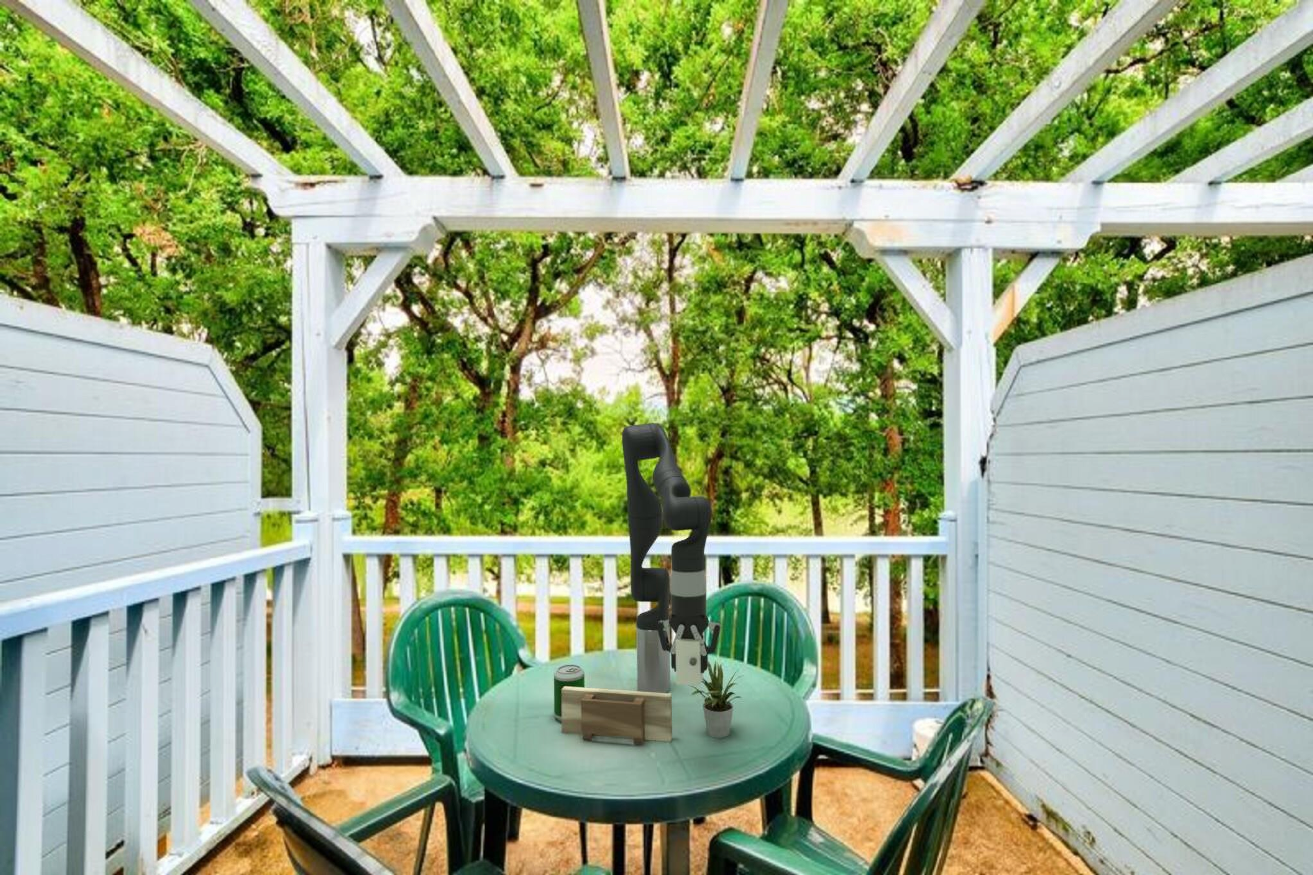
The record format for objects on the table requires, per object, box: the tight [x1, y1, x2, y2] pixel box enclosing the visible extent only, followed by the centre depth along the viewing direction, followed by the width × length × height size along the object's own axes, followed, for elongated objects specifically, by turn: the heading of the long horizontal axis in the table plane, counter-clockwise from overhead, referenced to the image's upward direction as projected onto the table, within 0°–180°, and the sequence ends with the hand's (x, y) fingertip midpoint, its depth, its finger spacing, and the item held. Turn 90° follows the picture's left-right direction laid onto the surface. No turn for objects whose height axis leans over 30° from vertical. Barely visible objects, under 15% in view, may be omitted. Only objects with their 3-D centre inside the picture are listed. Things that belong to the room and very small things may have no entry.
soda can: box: [553, 664, 586, 723], centre depth 148 cm, size 8×8×12 cm
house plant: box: [690, 661, 743, 739], centre depth 140 cm, size 14×14×16 cm
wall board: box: [561, 686, 673, 746], centre depth 137 cm, size 5×26×10 cm, turn 78°
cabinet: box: [675, 631, 705, 687], centre depth 128 cm, size 9×5×9 cm, turn 169°
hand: (689, 670), depth 126 cm, fingers closed on cabinet, 5 cm apart
